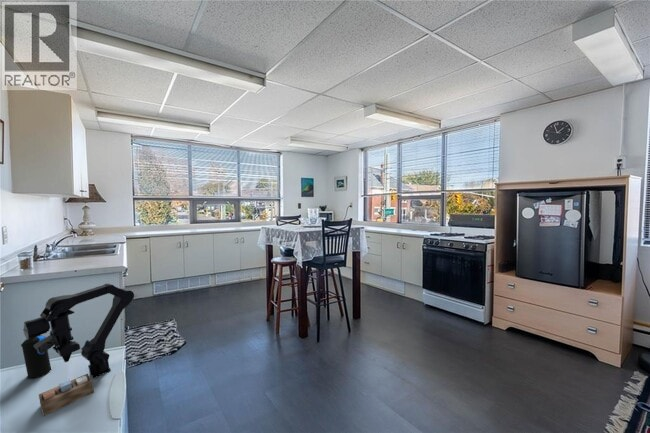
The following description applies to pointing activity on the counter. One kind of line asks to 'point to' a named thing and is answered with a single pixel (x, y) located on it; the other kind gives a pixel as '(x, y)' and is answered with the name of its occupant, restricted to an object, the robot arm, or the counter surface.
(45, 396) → the key terracotta
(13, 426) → the counter surface
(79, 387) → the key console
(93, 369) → the robot arm
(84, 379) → the key cream
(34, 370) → the aerosol can
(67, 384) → the key blue
